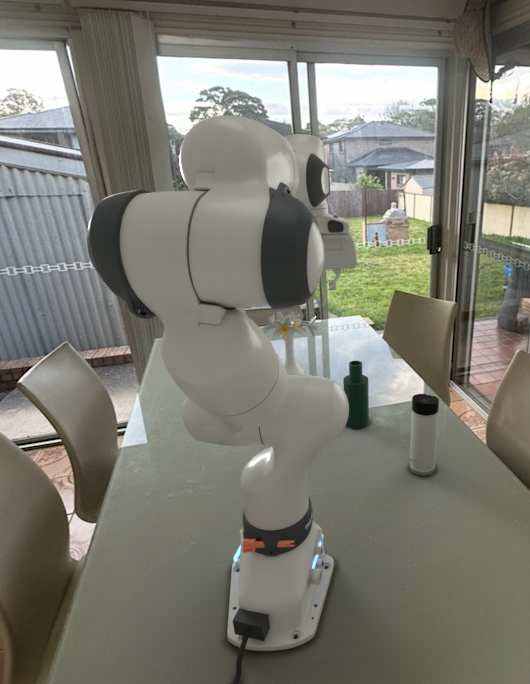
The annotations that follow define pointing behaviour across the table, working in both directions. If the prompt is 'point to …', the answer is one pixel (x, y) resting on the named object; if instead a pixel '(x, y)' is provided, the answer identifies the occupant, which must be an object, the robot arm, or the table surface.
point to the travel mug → (423, 434)
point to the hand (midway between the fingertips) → (310, 289)
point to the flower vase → (290, 337)
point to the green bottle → (357, 396)
